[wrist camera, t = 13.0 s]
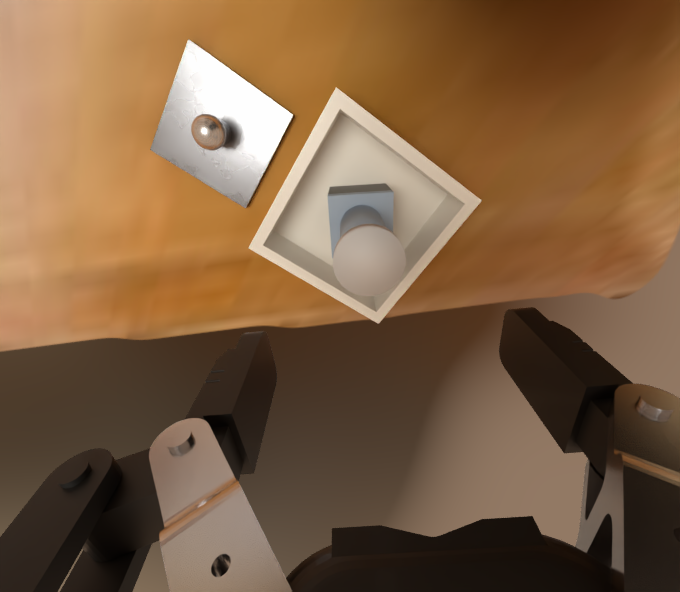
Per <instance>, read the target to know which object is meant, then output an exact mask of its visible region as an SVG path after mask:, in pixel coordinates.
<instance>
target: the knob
mask: <svg viewBox="0 0 680 592" xmlns="http://www.w3.org/2000/svg"><path fill="white" fill-rule="evenodd" d="M393 205H394V192H393V191H392V190H391V189H390V187H389V186H388V185H387V184H386V183H382V184H366V185H350V186H333V187H329V192H328V209H329V223H330V236H331V250H332V258H333V269H334V273H335V276H336V278H337V280H338V281H339V283H340V284H341V285H342V286H343V287H344V288H345V289H347V290H348V291H350V292H352V293H354V294H357V295H361V296H375V295H379V294H382V293H385V292H387V291H388V290H390V289H391V288H393V287H394V286H395V285H396V284H397V283H398V282H399V280H400V279H401V277H402V275H403V273H404V270H405V266H406V256H405V251H404V248H403V246H402V244H401V243H400V241H399V239H398V238H397V236H396V235H395V234H394V233H393Z"/></svg>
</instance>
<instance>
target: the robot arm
mask: <svg viewBox="0 0 680 592" xmlns="http://www.w3.org/2000/svg"><path fill="white" fill-rule="evenodd" d="M499 353H500V359H501V362H502V364H503V366H504V368H505V369H506V370H507V372H508V374H509V375H510V376H511V378H512V379H513V381H514V382H515V383H516V385H517V386H518V388H519V389H520V391H521V392H522V393H523V395H524V396H525V398H526V399H527V401H528V402H529V404H530V405H531V406H532V408H533V409H534V411H535V412H536V414H537V415H538V416H539V418H540V419H541V421H542V422H543V424H544V425H545V426H546V428H547V429H548V431H549V432H550V434H551V435H552V437H553V438H554V439H555V441H556V442H557V444H558V445H559V447H560V448H561V449H562V451H563V452H564V453H574V452H584V454H585V455H586V456H587V458H588V460H587V463H586V466H585V475H584V486H583V496H582V507H581V518H580V527H579V533H578V538H577V542H576V546H575V547H574V546H572V545H570V544H568V543H566V542H563V541H561V540H558V539H555V538H552V537H549V536H546V535H542V534H541V532H540V531H539V528H538V526H537V524H536V523H535V521H534V519H533V517H532V516H528V517H512V518H495V519H482V520H479V521H476V522H474V523H472V524H469V525H466V526H464V527H461V528H459V529H456V530H453V531H451V532H448V533H446V534H443V535H441V536H437V537H428V536H423V535H420V534H415V533H411V532H406V531H402V530H398V529H393V528H389V527H385V526H363V527H347V528H333V529H332V545H330V546H328V547H326V548H323V549H321V550H319V551H317V552H316V553H314V554H312V555H311V556H309V557H308V558H307V559H305V560H304V561H303V562H301V563H300V564H299V565H298V566H297V567H296V568H295V569H294V570H293V571H292V572H291V573H290V574H289V575H288V576H287V577H285V575H284V574H283V571H282V569H281V567H280V565H279V563H278V561H277V559H276V557H275V555H274V553H273V551H272V549H271V547H270V545H269V543H268V541H267V539H266V537H265V535H264V533H263V531H262V529H261V527H260V525H259V523H258V521H257V519H256V517H255V515H254V513H253V511H252V508H251V507H250V504H249V502H248V500H247V499H246V496H245V494H244V493H243V491H242V488H241V486H240V484H239V482H238V481H239V478H240V474H252V473H254V471H255V467H256V463H257V459H258V455H259V451H260V447H261V443H262V439H263V435H264V431H265V427H266V423H267V419H268V415H269V411H270V407H271V403H272V398H273V395H274V391H275V387H276V382H277V373H276V365H275V361H274V357H273V353H272V350H271V346H270V342H269V338H268V335H267V333H266V332H265V331H261V332H251V333H243V334H242V335H241V337H240V339H239V341H238V343H237V345H236V347H235V349H228V350H227V351H226V352H224V353H223V354H222V355H221V356H220V357H219V358H218V359H217V360H216V362H215V364H214V366H213V368H212V370H211V373H210V374H209V375H208V377H207V379H206V383H205V384H203V387H202V388H201V390H200V392H199V394H198V396H197V397H196V400H195V401H194V403H193V405H192V407H191V409H190V411H189V413H188V414H187V416H186V418H185V420H182V421H179V422H177V423H175V424H173V425H171V426H170V427H168V428H167V429H166V430H164V431H163V432H162V433H161V434H160V435H159V436H158V437H157V438H156V440H155V441H154V442H153V444H152V446H151V448H149V449H147V450H144V451H141V452H138V453H135V454H132V455H129V456H126V457H123V458H121V459H118V460H115V459H114V457H113V456H112V454H111V453H110V452H109V451H108V450H106V449H101V448H98V449H91V450H88V451H84V452H82V453H80V454H78V455H76V456H74V457H72V458H70V459H69V460H67V461H66V462H64V463H63V464H61V465H60V466H59V467H58V468H57V469H55V470H54V471H53V472H52V473H51V474H50V475H49V476H48V477H47V479H46V480H45V481H44V482H43V484H42V485H41V486H40V487H39V489H38V490H37V491H36V492H35V494H34V495H33V496H32V498H31V499H30V500H29V501H28V503H27V504H26V505H25V506H24V508H23V509H22V510H21V511H20V513H19V514H18V515H17V517H16V518H15V519H14V520H13V522H12V523H11V524H10V525H9V527H8V528H7V529H6V531H5V532H4V533H3V534H2V536H1V537H0V592H58V590H59V588H60V586H61V584H62V583H63V581H64V579H65V577H66V576H67V574H68V572H69V570H70V569H71V567H72V565H73V563H74V561H75V560H76V558H77V556H78V555H79V553H80V551H81V549H82V548H83V552H82V554H81V555H80V557H79V559H78V561H77V562H76V564H75V566H74V568H73V570H72V571H71V573H70V575H69V577H68V578H67V580H66V582H65V584H64V586H63V587H62V589H61V591H60V592H132V591H133V589H134V586H135V584H136V581H137V579H138V576H139V574H140V571H141V569H142V567H143V564H144V561H145V559H146V556H147V554H148V552H149V549H150V547H151V544H152V543H154V542H156V541H159V540H160V546H161V551H162V555H163V560H164V565H165V570H166V575H167V580H168V584H169V589H170V592H680V398H679V397H677V396H675V395H673V394H671V393H669V392H667V391H664V390H662V389H659V388H655V387H652V386H648V385H643V384H633V383H632V382H631V381H630V380H628V379H627V378H626V377H625V376H624V375H623V374H621V373H620V372H619V371H618V370H617V369H616V368H614V367H613V366H612V365H611V364H610V363H608V362H607V361H606V360H605V359H604V358H603V357H602V356H601V355H599V354H598V353H597V352H595V351H593V349H592V348H591V347H590V346H589V345H588V344H587V343H585V342H583V341H582V339H581V338H580V337H578V336H577V335H576V334H575V333H574V332H572V331H571V330H570V329H568V328H566V327H564V326H562V325H560V324H558V323H556V322H554V321H549V320H548V319H547V318H546V317H544V316H543V315H542V314H541V313H540V312H539V311H538V310H537V309H535V308H532V307H531V308H521V309H509V310H507V311H506V313H505V316H504V321H503V328H502V335H501V340H500V348H499Z"/></svg>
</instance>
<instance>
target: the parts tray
mask: <svg viewBox="0 0 680 592" xmlns="http://www.w3.org/2000/svg"><path fill="white" fill-rule="evenodd" d="M382 183H386V184H387V185H388V186H389V187H390V189H391V190H392V191H393V192H394V205H393V233H394V234H395V235H396V236H397V238H398V239H399V241H400V243H401V244H402V246H403V248H404V251H405V256H406V266H405V270H404V273H403V275H402V277H401V279H400V280H399V282H398V283H397V284H396V285H395V286H394V287H393V288H391V289H390V290H388V291H387V292H385V293H382V294H379V295H375V296H361V295H357V294H354V293H352V292H350V291H348V290H347V289H345V288H344V287H343V286H342V285H341V284H340V283H339V281H338V280H337V278H336V276H335V273H334V269H333V258H332V250H331V236H330V223H329V209H328V192H329V187H333V186H350V185H366V184H382ZM481 201H482V200H480V199H479V198H478V197H476V196H475V195H474V194H473V193H471V192H470V191H469V190H467V189H466V188H465V187H464V186H462V185H461V184H460V183H459V182H457V181H456V180H455V179H453V178H452V177H451V176H450V175H448V174H447V173H446V172H444V171H443V170H442V169H441V168H439V167H438V166H437V165H435V164H434V163H433V162H432V161H430V160H429V159H428V158H426V157H425V156H424V155H423V154H421V153H420V152H419V151H417V150H416V149H415V148H414V147H412V146H411V145H410V144H408V143H407V142H406V141H405V140H403V139H402V138H401V137H399V136H398V135H397V134H396V133H394V132H393V131H392V130H390V129H389V128H388V127H387V126H385V125H384V124H383V123H381V122H380V121H379V120H378V119H376V118H375V117H374V116H372V115H371V114H370V113H369V112H367V111H366V110H365V109H363V108H362V107H361V106H360V105H358V104H357V103H356V102H354V101H353V100H352V99H351V98H349V97H348V96H347V95H345V94H344V93H343V92H342V91H340V90H339V89H338V88H335V90H334V92H333V94H332V96H331V98H330V99H329V101H328V103H327V105H326V107H325V109H324V110H323V112H322V114H321V116H320V118H319V120H318V121H317V123H316V125H315V127H314V129H313V131H312V132H311V134H310V136H309V138H308V140H307V142H306V143H305V145H304V147H303V149H302V151H301V153H300V154H299V156H298V158H297V160H296V162H295V164H294V165H293V167H292V169H291V171H290V173H289V175H288V176H287V178H286V180H285V182H284V184H283V186H282V187H281V189H280V191H279V193H278V195H277V197H276V198H275V200H274V202H273V204H272V206H271V208H270V209H269V211H268V213H267V215H266V217H265V219H264V220H263V222H262V224H261V226H260V228H259V230H258V231H257V233H256V235H255V237H254V239H253V241H252V242H251V244H250V246H249V249H251V250H252V251H254V252H256V253H258V254H259V255H261V256H263V257H265V258H266V259H268V260H270V261H271V262H273V263H275V264H277V265H278V266H280V267H282V268H283V269H285V270H287V271H289V272H290V273H292V274H294V275H295V276H297V277H299V278H301V279H302V280H304V281H306V282H308V283H309V284H311V285H313V286H314V287H316V288H318V289H320V290H321V291H323V292H325V293H326V294H328V295H330V296H332V297H333V298H335V299H337V300H338V301H340V302H342V303H344V304H345V305H347V306H349V307H351V308H352V309H354V310H356V311H357V312H359V313H361V314H363V315H364V316H366V317H368V318H369V319H371V320H373V321H375V322H376V323H380V321H381V320H382V319H383V318H384V317H385V315H386V314H387V313H388V312H389V311H390V309H391V308H392V307H393V306H394V305H395V303H396V302H397V301H398V300H399V299H400V298H401V296H402V295H403V294H404V293H405V292H406V290H407V289H408V288H409V287H410V286H411V284H412V283H413V282H414V281H415V280H416V278H417V277H418V276H419V275H420V274H421V272H422V271H423V270H424V269H425V268H426V267H427V265H428V264H429V263H430V262H431V261H432V259H433V258H434V257H435V256H436V255H437V253H438V252H439V251H440V250H441V249H442V247H443V246H444V245H445V244H446V243H447V241H448V240H449V239H450V238H451V237H452V236H453V234H454V233H455V232H456V231H457V230H458V228H459V227H460V226H461V225H462V224H463V222H464V221H465V220H466V219H467V218H468V216H469V215H470V214H471V213H472V212H473V210H474V209H475V208H476V207H477V206H478V205H479V203H480V202H481Z"/></svg>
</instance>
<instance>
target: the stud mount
mask: <svg viewBox="0 0 680 592" xmlns="http://www.w3.org/2000/svg"><path fill="white" fill-rule="evenodd" d="M293 117H294V115H293V114H292V113H290V112H289V111H287V110H286V109H285V108H283V107H282V106H281V105H279V104H278V103H276V102H275V101H274V100H272V99H271V98H269V97H268V96H267V95H265V94H264V93H263V92H261V91H260V90H258V89H257V88H256V87H254V86H253V85H252V84H250V83H249V82H247V81H246V80H245V79H243V78H242V77H240V76H239V75H238V74H236V73H235V72H234V71H232V70H231V69H229V68H228V67H227V66H225V65H224V64H223V63H221V62H220V61H218V60H217V59H216V58H214V57H213V56H211V55H210V54H209V53H207V52H206V51H205V50H203V49H202V48H200V47H199V46H198V45H196V44H195V43H194V42H192V41H190V40H189V39H188V42H187V45H186V48H185V51H184V53H183V56H182V59H181V62H180V65H179V68H178V71H177V74H176V77H175V79H174V82H173V85H172V88H171V91H170V94H169V97H168V100H167V103H166V106H165V108H164V111H163V114H162V117H161V120H160V123H159V126H158V129H157V132H156V135H155V137H154V140H153V143H152V146H151V149H150V150H152V151H153V152H155V153H156V154H158V155H160V156H161V157H163V158H165V159H166V160H168V161H169V162H171V163H173V164H174V165H176V166H178V167H179V168H181V169H182V170H184V171H186V172H187V173H189V174H191V175H192V176H194V177H196V178H197V179H199V180H200V181H202V182H204V183H205V184H207V185H209V186H210V187H212V188H213V189H215V190H217V191H218V192H220V193H222V194H223V195H225V196H226V197H228V198H230V199H231V200H233V201H235V202H236V203H238V204H239V205H241V206H243V207H244V208H246V207H248V205H249V203H250V201H251V199H252V197H253V195H254V193H255V191H256V189H257V187H258V185H259V183H260V181H261V180H262V178H263V176H264V174H265V172H266V170H267V168H268V166H269V164H270V162H271V160H272V158H273V156H274V154H275V152H276V150H277V148H278V146H279V144H280V142H281V140H282V139H283V137H284V135H285V133H286V131H287V129H288V127H289V125H290V123H291V121H292V119H293Z"/></svg>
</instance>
